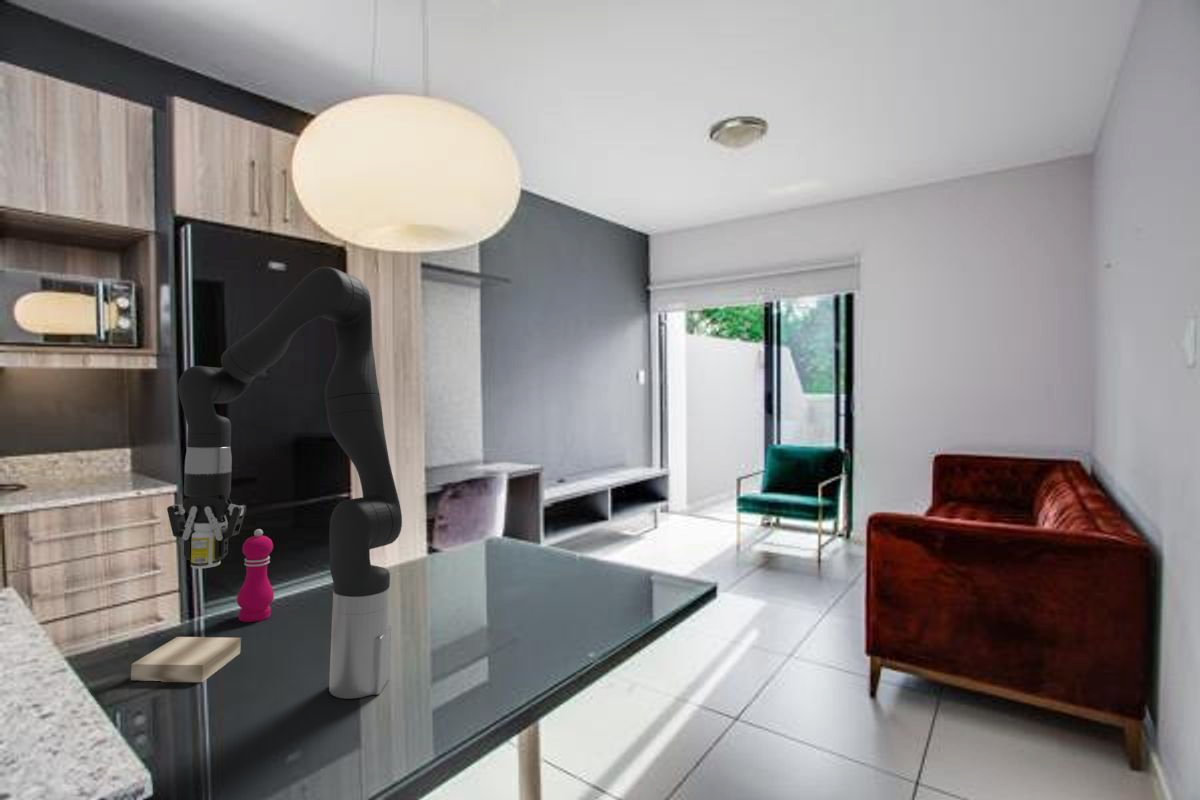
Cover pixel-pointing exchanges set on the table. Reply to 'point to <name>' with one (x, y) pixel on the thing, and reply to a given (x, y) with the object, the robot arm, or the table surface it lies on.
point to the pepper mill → (256, 579)
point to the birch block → (186, 659)
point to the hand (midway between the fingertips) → (205, 558)
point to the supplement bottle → (203, 546)
